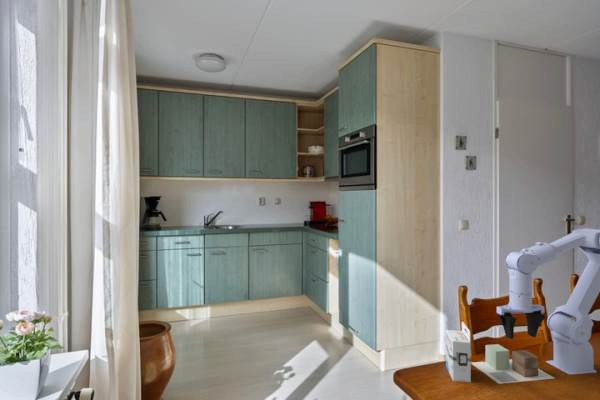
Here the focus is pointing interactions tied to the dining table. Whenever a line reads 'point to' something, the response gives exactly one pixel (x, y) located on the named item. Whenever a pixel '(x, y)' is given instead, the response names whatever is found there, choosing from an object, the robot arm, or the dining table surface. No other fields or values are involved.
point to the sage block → (497, 356)
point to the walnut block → (525, 363)
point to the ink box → (459, 354)
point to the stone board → (508, 373)
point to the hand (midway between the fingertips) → (520, 336)
